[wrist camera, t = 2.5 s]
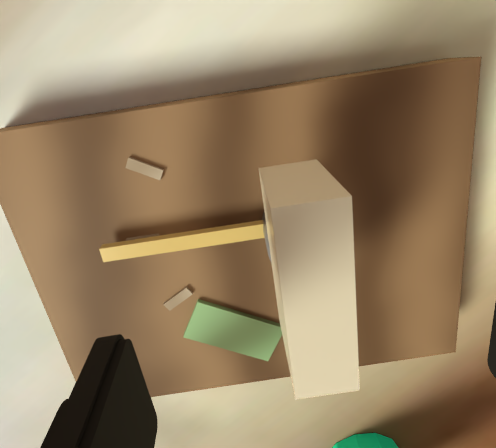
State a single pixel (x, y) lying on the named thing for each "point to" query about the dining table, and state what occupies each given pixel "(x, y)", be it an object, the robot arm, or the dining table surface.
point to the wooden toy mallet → (295, 270)
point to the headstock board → (246, 217)
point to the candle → (366, 441)
